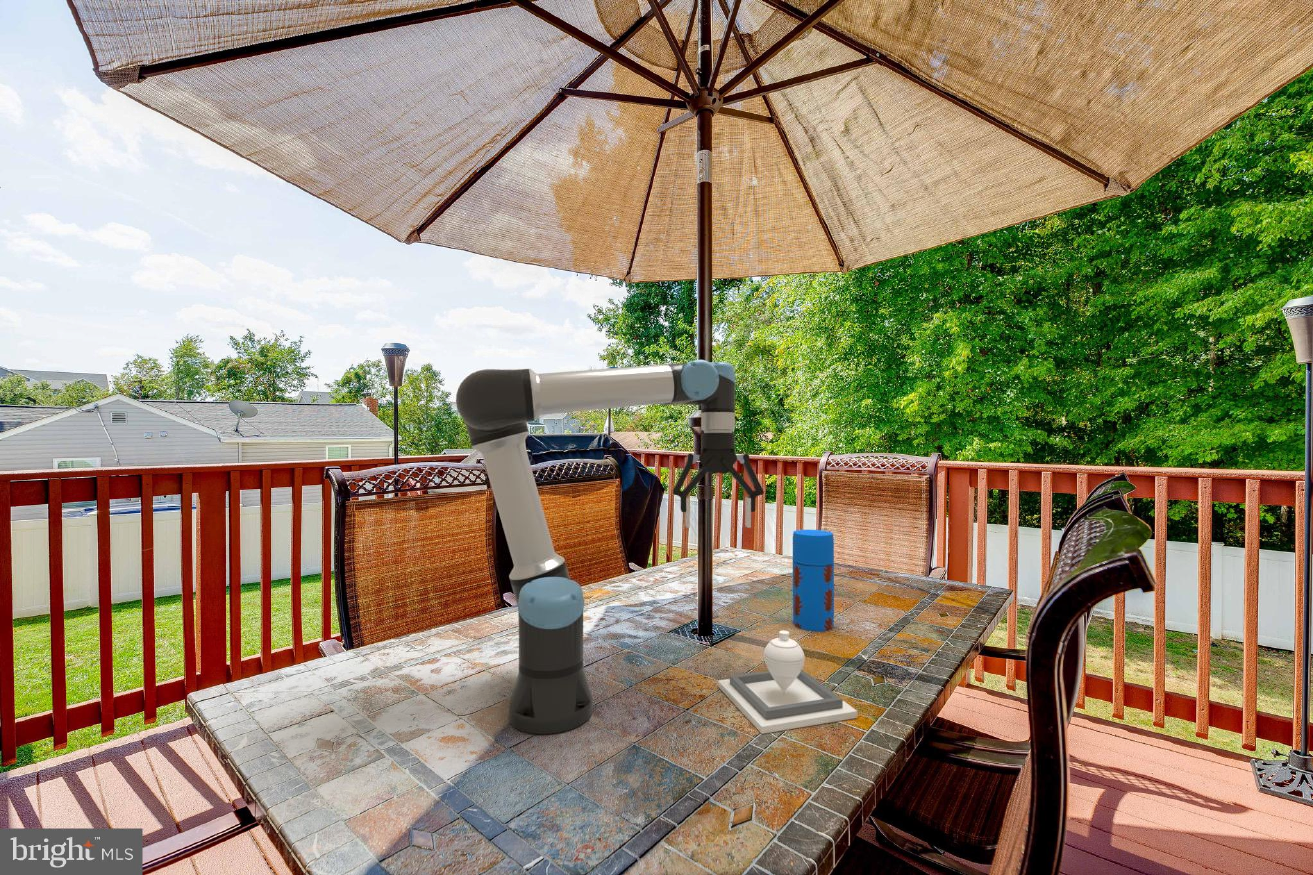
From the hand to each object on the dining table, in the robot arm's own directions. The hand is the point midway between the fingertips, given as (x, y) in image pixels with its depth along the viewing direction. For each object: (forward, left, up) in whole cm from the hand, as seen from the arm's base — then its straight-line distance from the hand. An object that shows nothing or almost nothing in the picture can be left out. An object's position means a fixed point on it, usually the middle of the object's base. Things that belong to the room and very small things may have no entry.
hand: (717, 526), depth 123 cm
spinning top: (+5, -20, -30) cm, 36 cm away
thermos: (+35, +17, -31) cm, 50 cm away
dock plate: (+5, -20, -31) cm, 37 cm away
